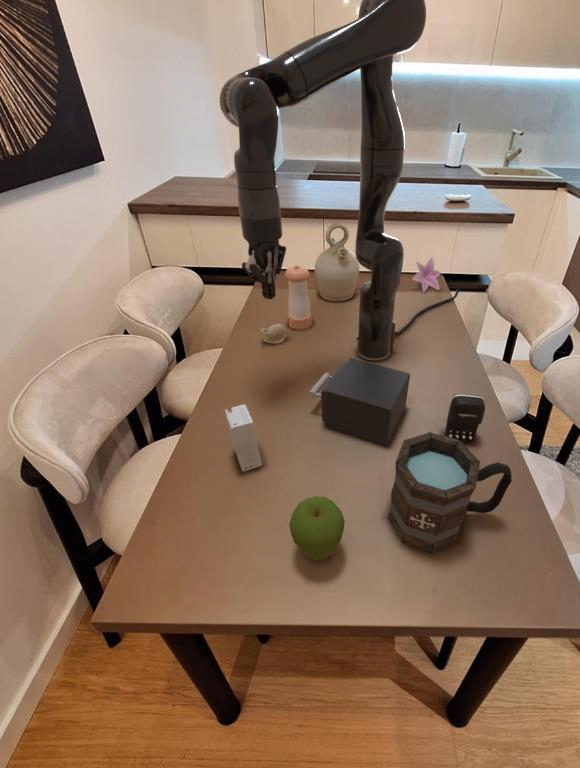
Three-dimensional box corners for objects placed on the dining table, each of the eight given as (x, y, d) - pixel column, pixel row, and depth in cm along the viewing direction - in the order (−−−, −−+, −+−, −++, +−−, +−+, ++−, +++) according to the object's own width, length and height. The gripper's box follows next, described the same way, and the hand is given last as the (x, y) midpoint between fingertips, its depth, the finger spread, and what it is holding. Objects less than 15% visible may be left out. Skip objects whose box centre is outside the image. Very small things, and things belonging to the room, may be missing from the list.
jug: (358, 304, 138) (361, 230, 123) (313, 303, 138) (310, 229, 123) (358, 285, 150) (361, 216, 135) (317, 284, 150) (315, 215, 135)
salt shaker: (310, 330, 124) (307, 270, 112) (287, 329, 124) (282, 269, 112) (312, 318, 129) (310, 261, 117) (290, 318, 129) (285, 260, 117)
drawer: (305, 415, 91) (303, 385, 86) (328, 385, 101) (328, 356, 95) (377, 439, 86) (380, 408, 81) (395, 404, 95) (399, 375, 90)
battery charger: (443, 443, 87) (453, 403, 80) (442, 430, 90) (451, 391, 83) (476, 446, 86) (488, 406, 79) (474, 433, 89) (486, 394, 82)
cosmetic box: (263, 466, 81) (255, 422, 73) (241, 473, 79) (231, 429, 72) (255, 445, 85) (247, 402, 78) (233, 452, 83) (223, 408, 76)
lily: (405, 293, 149) (416, 276, 141) (405, 269, 154) (417, 252, 146) (433, 302, 152) (446, 285, 143) (433, 279, 157) (446, 262, 149)
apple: (349, 567, 65) (351, 527, 57) (298, 581, 63) (293, 542, 55) (336, 521, 71) (336, 480, 64) (289, 533, 69) (283, 492, 62)
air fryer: (325, 427, 90) (324, 390, 83) (349, 392, 100) (350, 357, 93) (386, 447, 86) (390, 410, 79) (405, 408, 96) (410, 373, 89)
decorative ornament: (290, 339, 119) (288, 323, 116) (265, 348, 115) (263, 332, 112) (282, 333, 122) (281, 317, 118) (258, 342, 117) (256, 326, 114)
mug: (391, 553, 67) (400, 498, 57) (383, 487, 77) (390, 432, 68) (507, 551, 67) (534, 497, 58) (483, 486, 78) (503, 431, 69)
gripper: (257, 224, 68) (267, 314, 79) (295, 206, 78) (300, 288, 89) (221, 218, 71) (236, 306, 81) (262, 201, 80) (271, 282, 91)
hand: (269, 297), depth 85 cm, fingers closed
